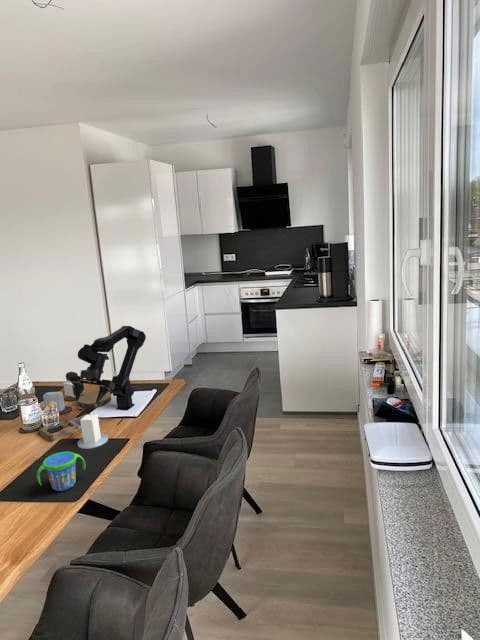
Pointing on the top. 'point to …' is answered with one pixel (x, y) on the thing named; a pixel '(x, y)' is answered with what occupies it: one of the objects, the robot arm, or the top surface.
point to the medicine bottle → (71, 385)
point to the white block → (90, 428)
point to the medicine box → (54, 399)
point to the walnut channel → (59, 434)
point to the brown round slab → (93, 400)
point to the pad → (93, 445)
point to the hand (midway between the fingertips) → (86, 402)
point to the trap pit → (78, 422)
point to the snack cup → (61, 470)
